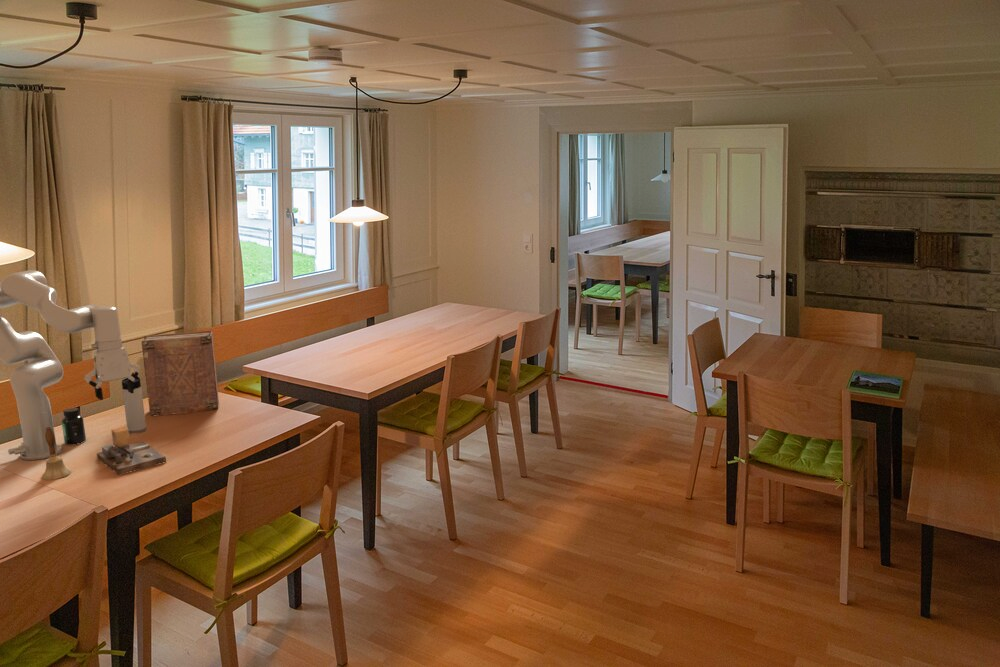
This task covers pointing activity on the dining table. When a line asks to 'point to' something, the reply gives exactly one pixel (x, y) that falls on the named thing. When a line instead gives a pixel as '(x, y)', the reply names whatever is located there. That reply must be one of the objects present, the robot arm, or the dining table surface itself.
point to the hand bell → (54, 460)
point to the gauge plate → (123, 463)
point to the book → (180, 372)
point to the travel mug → (134, 407)
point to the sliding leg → (122, 441)
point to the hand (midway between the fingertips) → (115, 395)
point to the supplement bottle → (73, 426)
